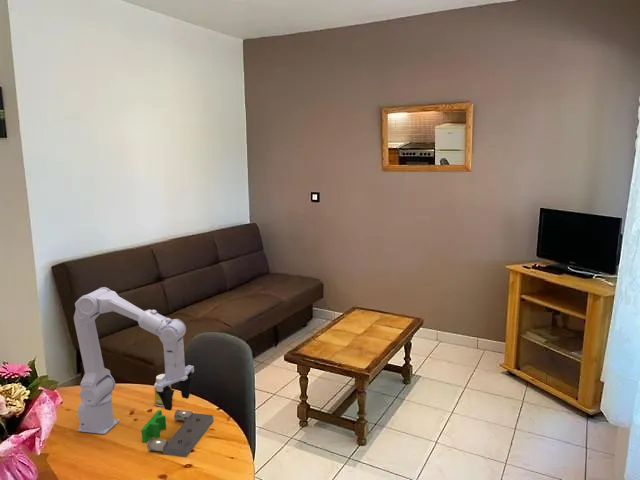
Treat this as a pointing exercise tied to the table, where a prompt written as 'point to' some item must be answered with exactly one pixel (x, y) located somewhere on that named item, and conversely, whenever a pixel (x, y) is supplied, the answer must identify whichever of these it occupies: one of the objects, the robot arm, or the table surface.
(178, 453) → the fixed leaf
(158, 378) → the supplement bottle
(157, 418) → the green notched block
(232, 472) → the table surface
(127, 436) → the table surface
